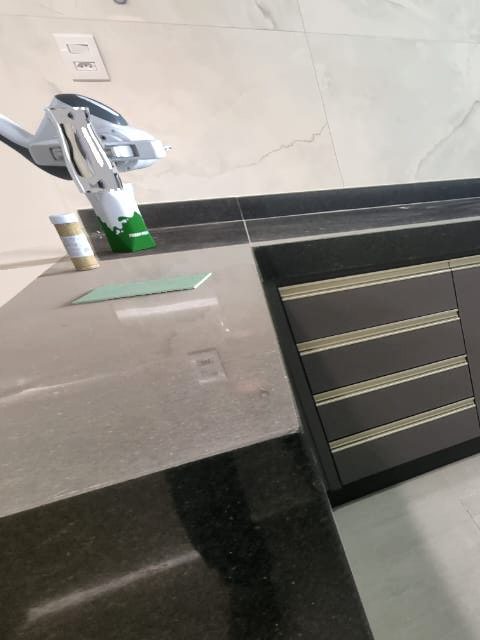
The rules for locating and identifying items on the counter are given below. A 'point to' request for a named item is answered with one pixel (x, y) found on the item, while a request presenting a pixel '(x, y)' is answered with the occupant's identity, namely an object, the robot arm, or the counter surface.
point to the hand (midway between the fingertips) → (84, 153)
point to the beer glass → (84, 150)
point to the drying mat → (143, 288)
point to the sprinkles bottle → (74, 241)
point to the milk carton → (121, 220)
